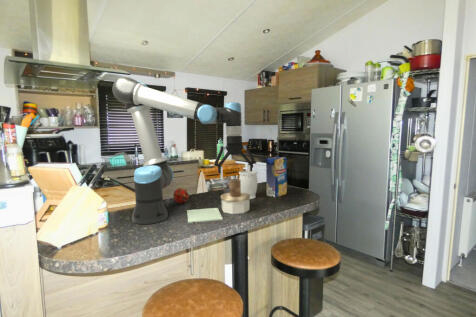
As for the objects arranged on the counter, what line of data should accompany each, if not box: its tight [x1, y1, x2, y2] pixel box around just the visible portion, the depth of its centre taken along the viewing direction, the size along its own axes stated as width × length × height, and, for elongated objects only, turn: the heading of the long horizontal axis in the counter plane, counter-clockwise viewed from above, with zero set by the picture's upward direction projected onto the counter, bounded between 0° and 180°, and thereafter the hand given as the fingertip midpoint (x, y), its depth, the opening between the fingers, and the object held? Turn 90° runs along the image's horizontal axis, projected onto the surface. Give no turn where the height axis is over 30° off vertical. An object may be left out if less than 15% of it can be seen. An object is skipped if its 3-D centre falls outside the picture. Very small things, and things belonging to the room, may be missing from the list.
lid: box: [220, 178, 251, 202], centre depth 133 cm, size 14×14×9 cm
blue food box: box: [265, 156, 288, 198], centre depth 161 cm, size 7×11×22 cm, turn 134°
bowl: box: [221, 199, 250, 215], centre depth 133 cm, size 13×13×6 cm
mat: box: [186, 207, 224, 224], centre depth 125 cm, size 15×17×1 cm
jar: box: [238, 170, 258, 200], centre depth 156 cm, size 11×10×15 cm
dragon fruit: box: [172, 187, 191, 205], centre depth 148 cm, size 8×8×12 cm
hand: (235, 179), depth 132 cm, fingers open, 13 cm apart
